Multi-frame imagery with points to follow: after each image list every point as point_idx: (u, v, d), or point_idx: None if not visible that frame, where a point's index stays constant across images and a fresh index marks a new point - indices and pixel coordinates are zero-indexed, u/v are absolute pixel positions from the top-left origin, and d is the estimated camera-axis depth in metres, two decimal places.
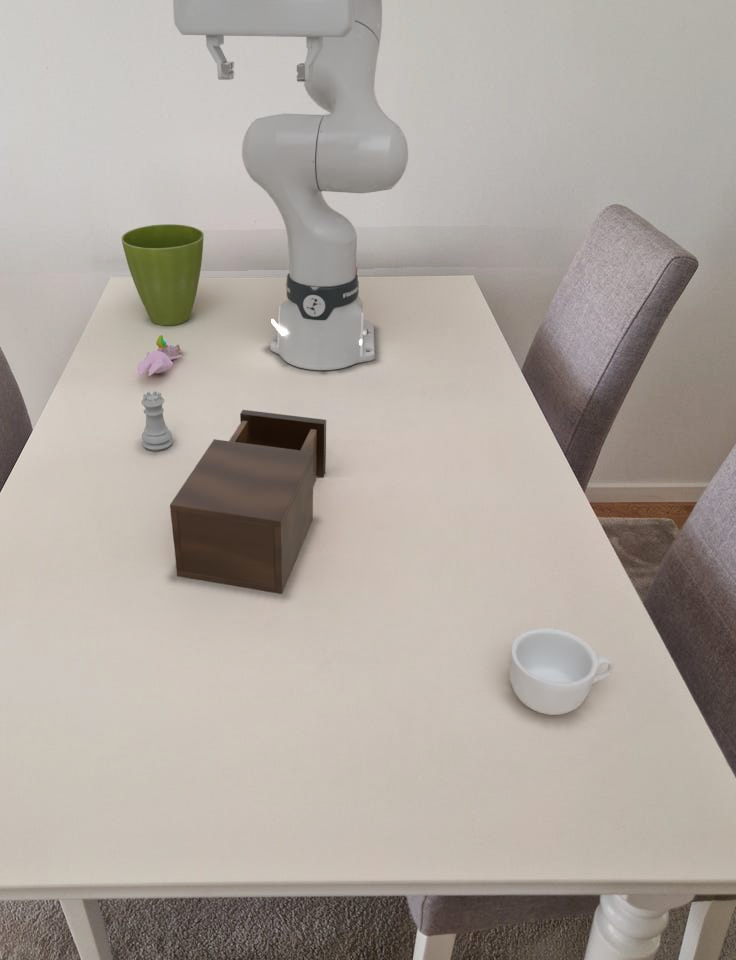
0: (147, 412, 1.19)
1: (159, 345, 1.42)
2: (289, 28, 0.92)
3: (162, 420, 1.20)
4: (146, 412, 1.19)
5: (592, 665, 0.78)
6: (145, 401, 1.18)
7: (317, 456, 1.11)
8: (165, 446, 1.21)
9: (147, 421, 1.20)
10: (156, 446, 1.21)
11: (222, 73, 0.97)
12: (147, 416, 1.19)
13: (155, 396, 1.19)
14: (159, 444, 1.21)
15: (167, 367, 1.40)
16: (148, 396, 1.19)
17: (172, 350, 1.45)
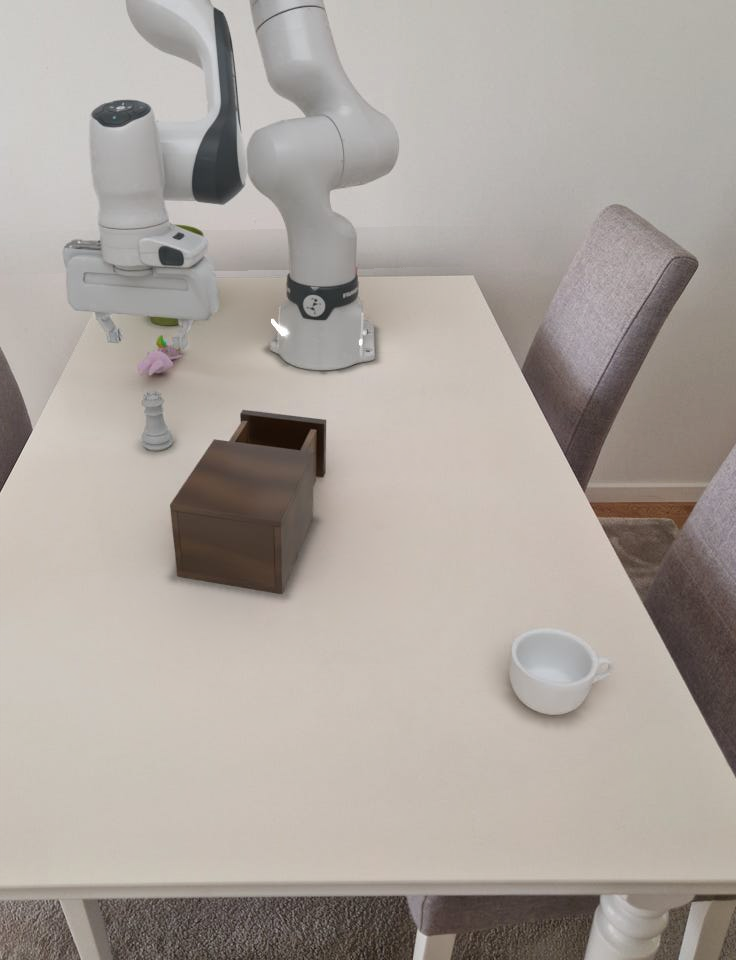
0: (147, 412, 1.19)
1: (159, 345, 1.42)
2: None
3: (162, 420, 1.20)
4: (146, 412, 1.19)
5: (592, 665, 0.78)
6: (145, 401, 1.18)
7: (317, 456, 1.11)
8: (165, 446, 1.21)
9: (147, 421, 1.20)
10: (156, 446, 1.21)
11: None
12: (147, 416, 1.19)
13: (155, 396, 1.19)
14: (159, 444, 1.21)
15: (167, 367, 1.40)
16: (148, 396, 1.19)
17: (172, 350, 1.45)
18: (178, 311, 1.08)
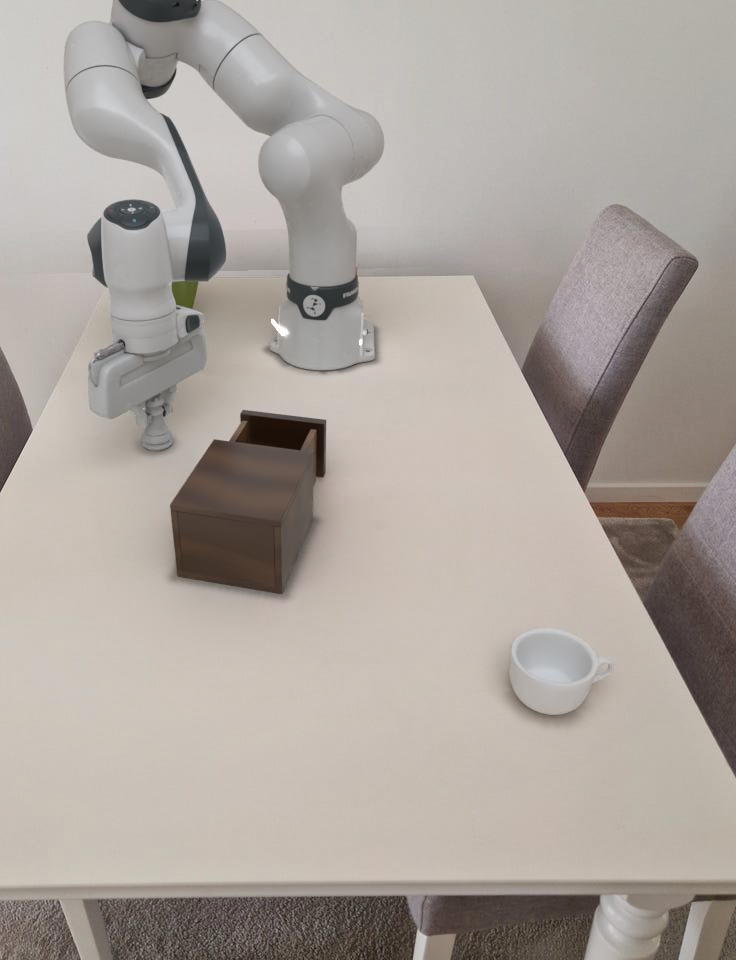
0: (147, 412, 1.19)
1: None
2: None
3: (162, 420, 1.20)
4: (146, 412, 1.19)
5: (592, 665, 0.78)
6: (145, 401, 1.18)
7: (317, 456, 1.11)
8: (165, 446, 1.21)
9: None
10: (156, 446, 1.21)
11: None
12: None
13: (155, 396, 1.19)
14: (159, 444, 1.21)
15: None
16: None
17: None
18: (187, 371, 1.20)
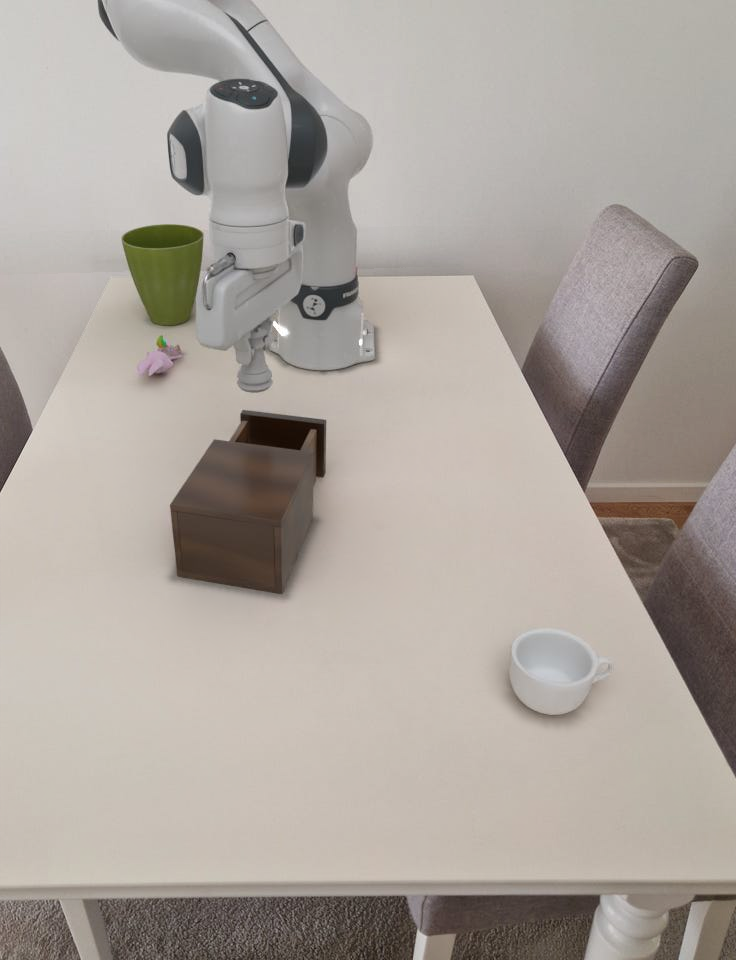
0: None
1: (159, 345, 1.42)
2: None
3: (263, 355, 1.02)
4: None
5: (592, 665, 0.78)
6: None
7: (317, 456, 1.11)
8: (267, 386, 1.03)
9: None
10: (258, 386, 1.02)
11: None
12: None
13: None
14: (261, 384, 1.02)
15: (167, 367, 1.40)
16: None
17: (172, 350, 1.45)
18: (286, 295, 1.02)
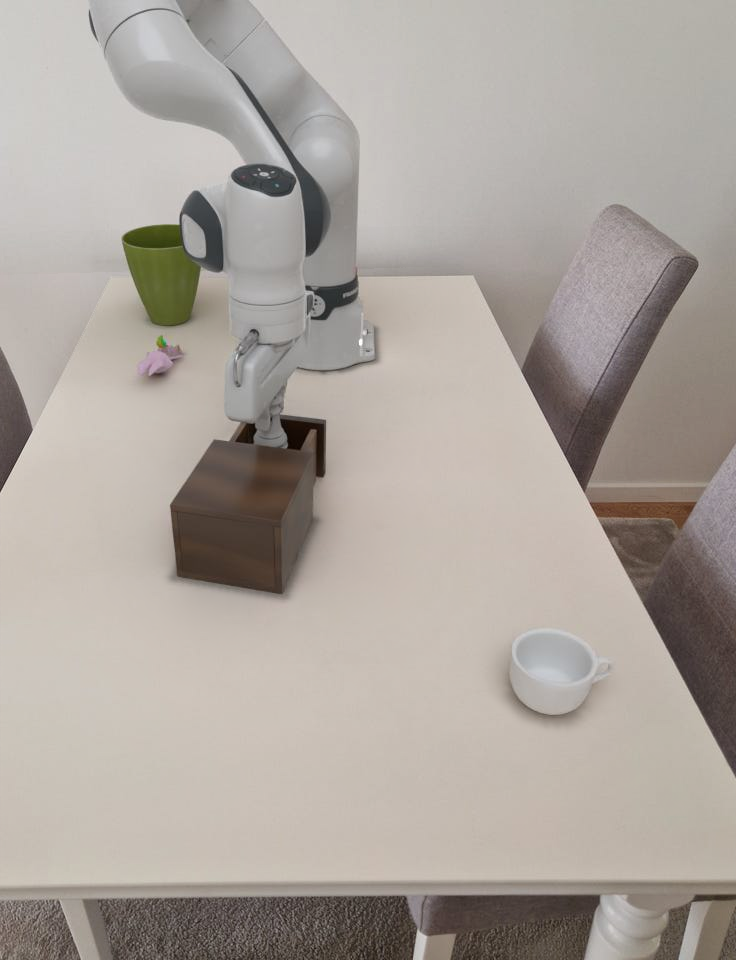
0: None
1: (159, 345, 1.42)
2: None
3: (279, 419, 1.05)
4: None
5: (592, 665, 0.78)
6: None
7: (317, 456, 1.11)
8: None
9: None
10: None
11: None
12: None
13: None
14: (279, 447, 1.06)
15: (167, 367, 1.40)
16: None
17: (172, 350, 1.45)
18: (297, 360, 1.06)
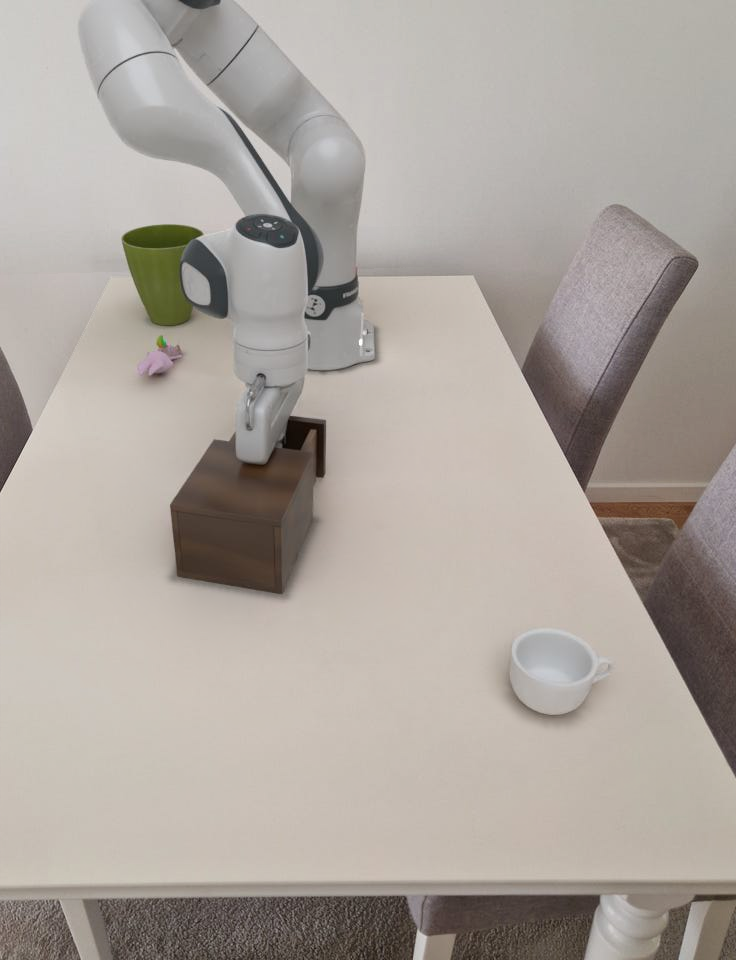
0: None
1: (159, 345, 1.42)
2: None
3: None
4: None
5: (592, 665, 0.78)
6: None
7: (317, 456, 1.11)
8: None
9: None
10: None
11: None
12: None
13: None
14: None
15: (167, 367, 1.40)
16: None
17: (172, 350, 1.45)
18: (296, 398, 1.09)
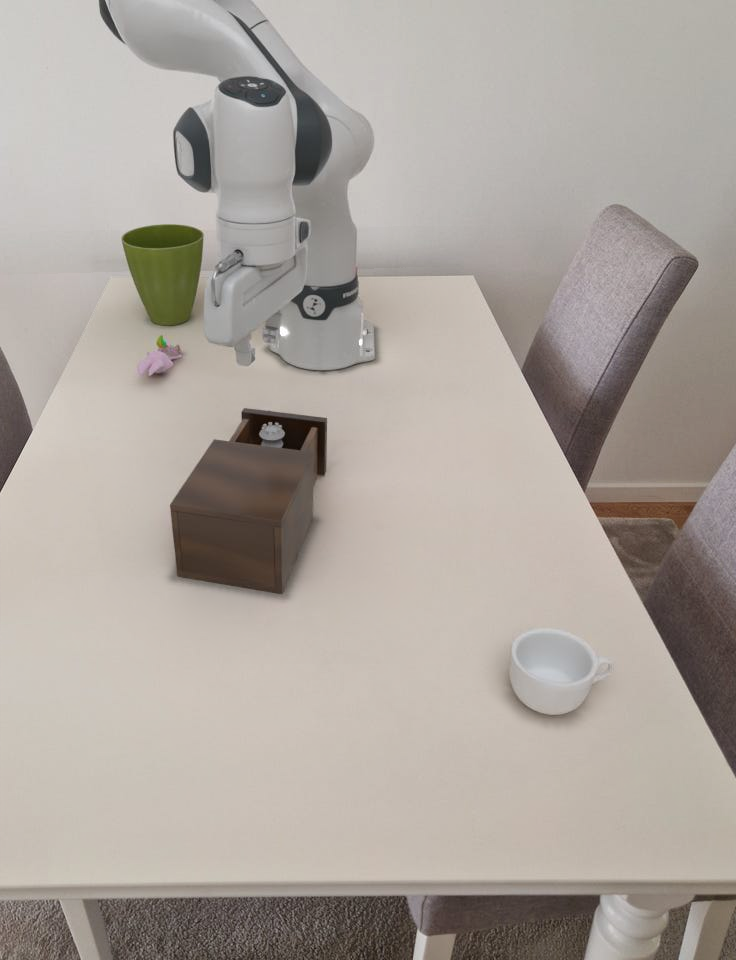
0: None
1: (159, 345, 1.42)
2: None
3: None
4: None
5: (592, 665, 0.78)
6: (267, 434, 1.06)
7: (318, 454, 1.12)
8: None
9: None
10: None
11: None
12: None
13: (274, 427, 1.07)
14: None
15: (167, 367, 1.40)
16: (266, 429, 1.06)
17: (172, 350, 1.45)
18: (291, 292, 1.03)
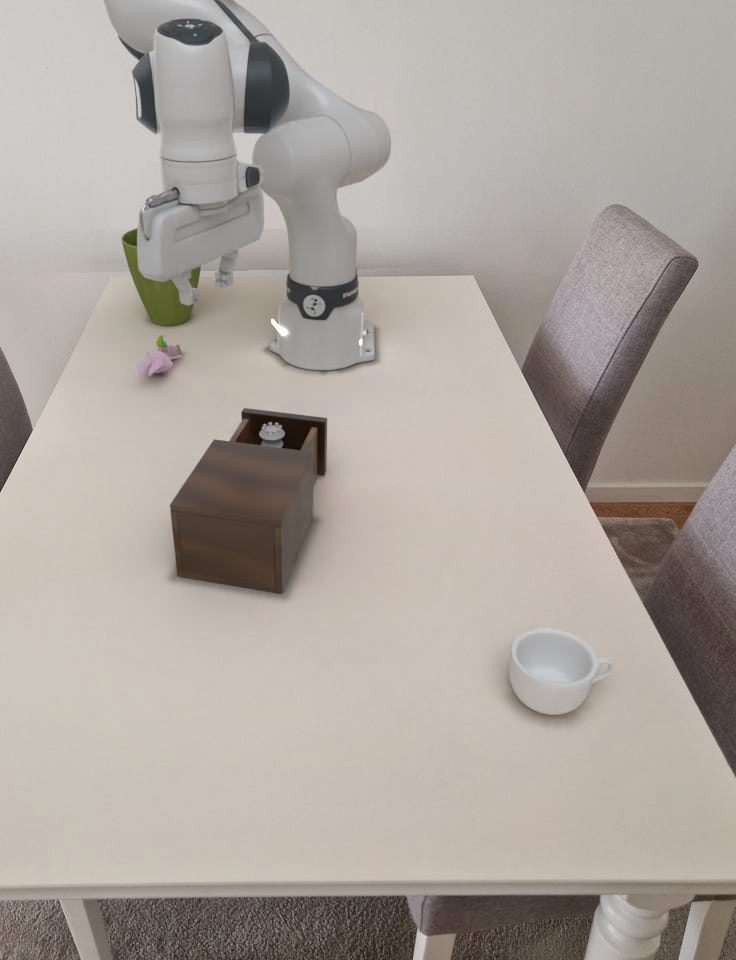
0: None
1: (159, 345, 1.42)
2: None
3: None
4: None
5: (592, 665, 0.78)
6: (267, 434, 1.06)
7: (318, 454, 1.12)
8: None
9: None
10: None
11: None
12: None
13: (274, 427, 1.07)
14: None
15: (167, 367, 1.40)
16: (266, 429, 1.06)
17: (172, 350, 1.45)
18: (243, 238, 1.05)
